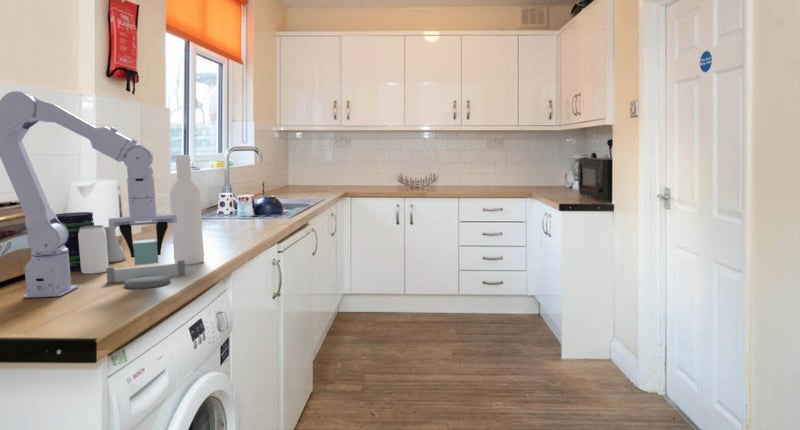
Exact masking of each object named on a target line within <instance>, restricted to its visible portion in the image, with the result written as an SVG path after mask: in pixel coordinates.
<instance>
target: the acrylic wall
mask: <svg viewBox="0 0 800 430" xmlns="http://www.w3.org/2000/svg"><path fill="white" fill-rule="evenodd" d="M106 271H107V272H106V282H107V284H113V283H120V282H125V281H126V280H129V279H132V278H137V277H143V276H154V275H162V276H169V277H170V278H172V277H182V276H183V277H184V276H186V265H185V261H184V260H181V261H177V263H176V264H175V263H168V264H167V263H166V264H156V265H146V266H145V265H144V266H133V267H124V268H122V267H121V268H115V267H114V266H108V267H106Z"/></svg>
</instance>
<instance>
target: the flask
mask: <svg viewBox="0 0 800 430" xmlns="http://www.w3.org/2000/svg"><path fill="white" fill-rule="evenodd" d="M103 228H104V230H105V231H106V241H107V254H108V263H118V262H121V261H125V260H127V257H126V256H125V254H124V252H123V249H122V248H121V245H120V242H119V241H118V238H117V234H116V229H117V227H109V225H108V226H103Z"/></svg>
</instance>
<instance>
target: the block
mask: <svg viewBox="0 0 800 430" xmlns="http://www.w3.org/2000/svg"><path fill="white" fill-rule="evenodd" d="M132 242H133V248H134V257H133V260H134V265H135V266H140V265H150V264H151V265H153V264H158V263H159V255H158V251H157V238H153V239H141V240H132Z"/></svg>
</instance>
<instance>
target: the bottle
mask: <svg viewBox="0 0 800 430" xmlns="http://www.w3.org/2000/svg"><path fill="white" fill-rule="evenodd" d="M191 161H192V160H191V157H190V154H176V155H175V163H176V164H175V165H176V167H175V168H176V179H177V181H175V182H174V183H173V184H172V186H171V189H170V193H169V197H170V211H171V213H170V214H176V215H177V223H171V225H172V226H171V228H172V229H171V230H172V241H173V242H172V243H173V259H174V264H176V263H177V261H181V260H184V261H185V266H188V265H189V266H191V265H196V264H197V265H198V264H202V263H203V262H204V261H205V250H204V239H203V238H204V236H203V223H202V222H203V221H202V204H201V202H202V201H201V191H200V189H199V186H198V185H197V184H196V183H195V181H193V180H192V171H191V169H192V168H191ZM201 262H202V263H201Z"/></svg>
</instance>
